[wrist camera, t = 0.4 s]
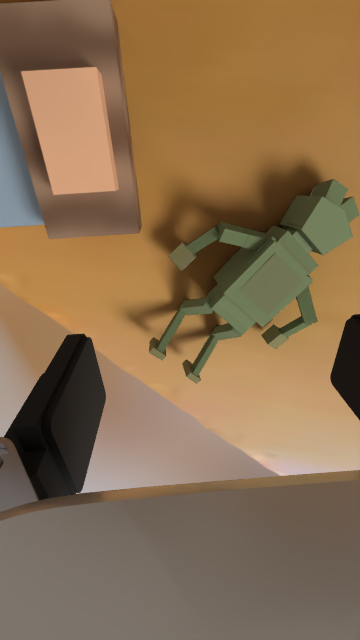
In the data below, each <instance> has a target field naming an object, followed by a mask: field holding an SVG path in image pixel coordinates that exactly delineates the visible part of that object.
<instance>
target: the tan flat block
mask: <svg viewBox="0 0 360 640" xmlns="http://www.w3.org/2000/svg"><path fill="white" fill-rule="evenodd" d="M21 73H22V77H23V81H24V85H25V89H26V92H27V96H28V100H29V104H30V108H31V111H32V115H33V119H34V123H35V127H36V130H37V134H38V138H39V142H40V146H41V150H42V153H43V157H44V161H45V165H46V169H47V172H48V176H49V180H50V184H51V188H52V191H53V195H59V194H75V193H90V192H106V191H116V190H118V189H119V187H118V181H117V174H116V168H115V161H114V154H113V148H112V141H111V135H110V128H109V121H108V115H107V108H106V102H105V95H104V89H103V82H102V75H101V73H100V72H99V70H98V69H97V67H85V68H69V69H52V70H35V71H21Z"/></svg>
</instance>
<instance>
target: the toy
mask: <svg viewBox="0 0 360 640" xmlns="http://www.w3.org/2000/svg"><path fill="white" fill-rule="evenodd" d="M347 190H348V189H347V188H346V187H344V186H343V185H342V184H340V183H339V182H337V181H336V180H334V179H332V180H329V181H326V182H323V183H320V184H317V185H315V187H314V188H313V190H312V192H311V194H310V196H296V197H295V199H294V200H293V202H292V204H291V205H290V207H289V208H288V210H287V212H286V213H285V215H284V217H283V218H282V220H281V222H280V223H279V224H280V225H281V226H282V228H283V229H282V228H279V227H276V226H274V225H273V226H272V227H271V228H270V229H269V230H268V231H267V232H266V233H263V232H259V231H255V230H251V229H248V228H243V227H239V226H235V225H232V224H228V223H224V222H219V225H218V226H217V225H216V226H215V227H213V228H212V229H210V230H209V231H207V232H206V233H204V234H203V235H201V236H200V237H198V238H197V239H195V240H194V241H192V242H191V243H189V244H187V243H186V242H182V243H181V244H180V245H179V246H178V247H177V248H176V249H175V250H174V251H173V252H172V253H171V254H170V255H169V256H168V257H169V258H170V259H171V260H172V261H173V262H174V263H175V264H176V265H177V267H178V268H179V269H180V270H181V271H182V270H183V269H184V268H186V267H187V266H188V265H189V264H190V263H191V262H192V261H193V260H194V259H195V258H196V257H197V256H198V255H197V254H196V252H198V251H199V250H201V249H203V248H204V247H206V246H207V245H209V244H211V243H212V242H214V241H215V240H217V239H218V240H219V242H224V243H228V244H232V245H236V246H240V247H241V248H240V249H239V250H238V251H237V252H236V253H235V254H234V255H233V257H232V258H231V259H230V260H229V261H228V262H227V263H226V264H225V265H224V266H223V267H222V268H221V269H220V270H219V271H218V272H217V273H216V274H215V275H214V276H213V277H214V279H215V281H216V282H217V285H216V286H215V287H214V288H213V289H212V290H211V291H210V292H209V293H208V294H207V295H206V298H199V299H192V300H185V301H183V303H182V304H181V306H180V307H179V309H178V311H177V312H176V314H175V316H174V317H173V319H172V320H171V322H170V324H169V325H168V327H167V329H166V330H165V332H164V334H163V335H162V337H161V339H160V340H157V339H156V338H154V337H153V338H152V339H151V341H150V346H149V353H151V354H152V355H154V356H156V357H157V358H159V359H160V360H163V359H164V358H165V357H166V347H167V345H168V344H169V342H170V340H171V338H172V337H173V335H174V333H175V332H176V330H177V328H178V326H179V325H180V323H181V321H182V319H183V318H184V316H185V314H186V315H197V314H212V312H213V311H214V312H216V313H217V314H218V315H219V316H221V317H222V318H223V319H224V320H225V321H227V322H228V324H224V325H220V326H216V327H215V328H214V330H213V331H212V333H211V335H210V337H209V338H208V340H207V342H206V343H205V345H204V346H203V348H202V350H201V351H200V353H199V355H198V356H197V358H196V360H195V361H194V363H193V364H192V363H190V362H189V361H188V360H187V359H186V360H185V361H184V362H183V363H182V364H183V367H184V370H185V374H186V377H188V378H189V379H190V380H192V381H193V382H195V383H196V384H197V383H198V382H199V381H200V380H201V379H200V376H199V373H200V371H201V370H202V368H203V366H204V365H205V363H206V361H207V359H208V358H209V356H210V354H211V353H212V351H213V349H214V347H215V345H216V344H217V342H218V340H223V339H229V338H236V337H241V336H242V335H243V334H244V333H245V332H246V331H247V330H248V329H249V328H250V327H252V326H253V325H254V324H255V323H256V322H257V323H258V324H259V325H260V326H261V327H263V326H265V325H266V324H267V323H268V322H269V321H270V320H271V319H272V318H273V317H274V316H276V315H277V314H278V313H279V312H280V311H281V310H282V309H283V308H284V307H285V306H287V305H288V304H289V303H290V302H291V301H292V300H293V299H294V298H295V297H296V299H297V302H298V305H299V309H300V312H301V315H302V316H301V317H299V318H297V319H296V320H294V321H292V322H290V323H289V324H287V325H285V326H283V327H282V328H278V327H277V326H275V325H272V326H271V327H270V328H269V329H268V330H267V331H265V332H264V333H263V334H262V337H263V338H264V340H265V341H266V342H267V344H268V345H270V346H272V347H273V348H275V349H277V348H278V347H279V346H280V345H282V344H283V343H284V342H285V341H287V340H288V337H289V336H290V335H292V334H294V333H296V332H298V331H300V330H302V329H304V328H306V327H307V326H309V325H311V324H312V323H315V322H318V321H317V317H316V314H315V310H314V307H313V303H312V298H311V295H310V291H309V287H308V286H309V285H310V284H311V283H312V278H311V277H310V276H308V274H310V273H311V272H312V271H313V270H314V269H315V268H316V267H317V266H318V264H317V263H316V262H315V261H314V260H313V259H312V257H311V256H310V255H309V254H308V253H309V252H310V251H313V252H316V253H319V254H321V255H324V254H326V253H328V252H329V251H331V250H332V249H334V248H336V247H337V246H339V245H340V244H342V243H344V242H345V241H347V240H348V239H350V238H352V237H353V235H352V232H351V229H350V226H349V222H350V221H352V220H353V219H354V218H356V217H357V216H358V215H359V213H358V210H357V207H356V204H355V201H354V198H353V197H349V198H344V196H345V194H346V192H347Z"/></svg>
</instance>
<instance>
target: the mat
mask: <svg viewBox="0 0 360 640" xmlns="http://www.w3.org/2000/svg"><path fill="white" fill-rule="evenodd" d="M44 224H45V223H44V220H43V217H42V213H41V210H40V206H39V203H38V199H37V196H36V193H35V189H34V186H33V182H32V179H31V175H30V172H29V169H28V165H27V162H26V158H25V155H24V151H23V148H22V145H21V141H20V138H19V134H18V131H17V127H16V124H15V121H14V117H13V114H12V110H11V107H10V103H9V100H8V97H7V93H6V90H5V86H4V83H3V79H2V76H1V73H0V227H14V226H29V225H44Z"/></svg>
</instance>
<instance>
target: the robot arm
mask: <svg viewBox="0 0 360 640" xmlns="http://www.w3.org/2000/svg"><path fill="white" fill-rule="evenodd" d="M331 382H332V385H333V386H334V387H335V389H336V390H337V391H338V393H339V394H340V395H341V397H342V398H343V399H344V400H345V402H346V403H347V404H348V406H349V407H350V408H351V410H352V411H353V412H354V414H355V415H356V416H357V417H358V419H359V420H360V314H357V315H353V316H352V317H351V318H350V319H348V320H347V321H346V323H345V327H344V330H343V334H342V337H341V341H340V344H339V348H338V351H337V355H336V358H335V362H334V365H333V369H332V372H331ZM105 400H106V393H105V389H104V385H103V381H102V377H101V374H100V370H99V366H98V362H97V358H96V354H95V350H94V347H93V343H92V339H91V338H90V337H86V335H85V334H72V335H67V336H66V338H65V339H64V341H63V343H62V345H61V346H60V348H59V349H58V351H57V353H56V355H55V356H54V358H53V360H52V361H51V363H50V365H49V366H48V368H47V370H46V371H45V373H44V374H42V376H41V377H40V378H39V380H38V381H37V383H36V385H35V386H34V388H33V390H32V391H31V393H30V395H29V396H28V398H27V400H26V401H25V403H24V405H23V406H22V408H21V410H20V411H19V413H18V415H17V416H16V418H15V419H14V421H13V423H12V424H11V426H10V428H9V429H8V431H7V433H6V435H5V436H4V437H0V640H360V470H355V471H341V472H328V473H315V474H302V475H289V476H276V477H265V478H252V479H238V480H225V481H213V482H202V483H189V484H176V485H164V486H153V487H142V488H131V489H120V490H110V491H102V492H101V491H100V492H90V493H81V494H76V493H80V492H81V490H82V488H83V485H84V481H85V477H86V473H87V469H88V465H89V462H90V458H91V454H92V450H93V447H94V443H95V439H96V435H97V431H98V427H99V423H100V420H101V416H102V412H103V408H104V404H105Z"/></svg>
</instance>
